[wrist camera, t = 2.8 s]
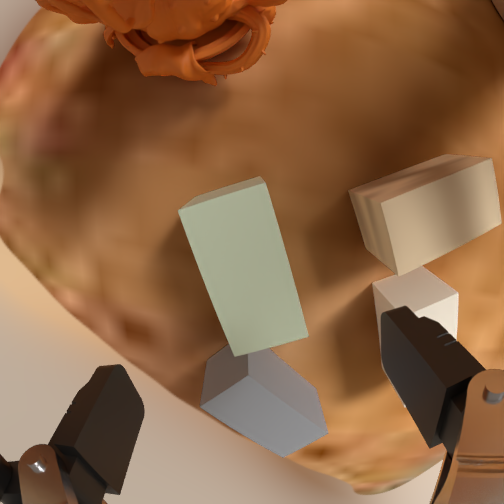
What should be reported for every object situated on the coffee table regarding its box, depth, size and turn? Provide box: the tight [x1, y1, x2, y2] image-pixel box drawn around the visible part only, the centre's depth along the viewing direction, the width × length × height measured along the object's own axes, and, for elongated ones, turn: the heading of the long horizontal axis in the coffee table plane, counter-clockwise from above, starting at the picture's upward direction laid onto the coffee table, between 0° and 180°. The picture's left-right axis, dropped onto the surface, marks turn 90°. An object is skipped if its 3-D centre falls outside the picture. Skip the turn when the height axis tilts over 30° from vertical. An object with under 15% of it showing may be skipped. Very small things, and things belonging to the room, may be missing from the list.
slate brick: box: [200, 344, 328, 457], centre depth 20 cm, size 8×4×5 cm, turn 42°
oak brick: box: [348, 154, 501, 277], centre depth 16 cm, size 8×4×5 cm, turn 112°
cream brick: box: [372, 266, 458, 407], centre depth 19 cm, size 8×4×5 cm, turn 17°
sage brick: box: [178, 176, 309, 357], centre depth 17 cm, size 8×4×5 cm, turn 17°
